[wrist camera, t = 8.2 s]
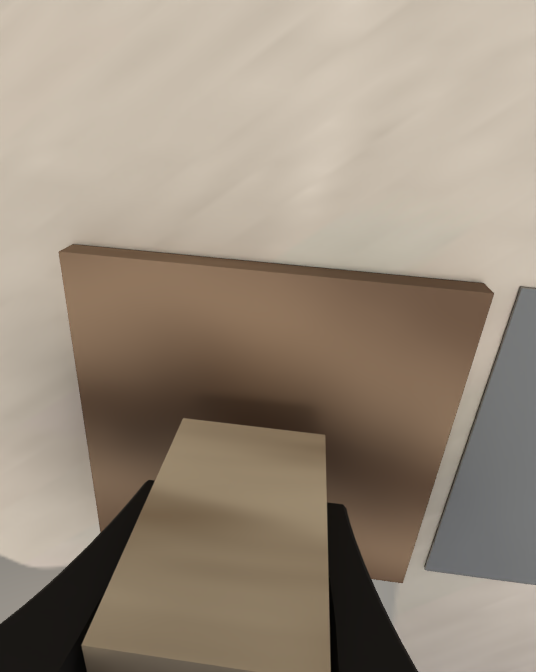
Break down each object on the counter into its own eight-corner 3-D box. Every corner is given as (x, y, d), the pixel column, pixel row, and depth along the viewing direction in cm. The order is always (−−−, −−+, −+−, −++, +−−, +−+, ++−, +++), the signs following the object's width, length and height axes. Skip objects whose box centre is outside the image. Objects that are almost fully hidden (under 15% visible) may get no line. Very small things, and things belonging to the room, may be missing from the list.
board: (399, 564, 18) (402, 583, 17) (110, 525, 19) (102, 542, 18) (483, 283, 12) (494, 293, 12) (72, 244, 13) (58, 251, 12)
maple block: (309, 534, 14) (304, 793, 9) (185, 518, 14) (105, 760, 9) (325, 434, 12) (330, 683, 7) (183, 418, 12) (81, 645, 7)
